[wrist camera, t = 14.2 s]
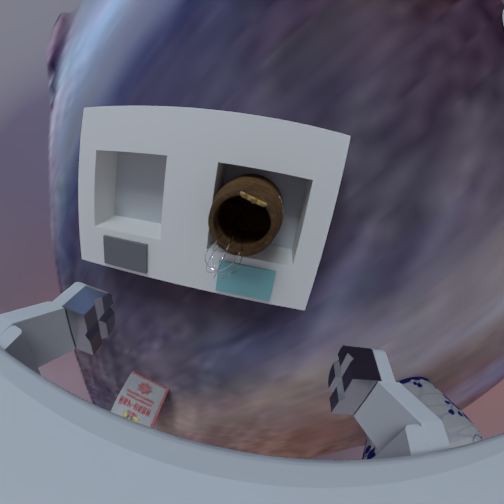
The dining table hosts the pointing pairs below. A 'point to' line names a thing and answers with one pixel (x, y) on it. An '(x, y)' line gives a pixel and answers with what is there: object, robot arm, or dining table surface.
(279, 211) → the utensil holder
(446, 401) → the vase
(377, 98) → the dining table surface
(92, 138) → the socket box
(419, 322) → the dining table surface
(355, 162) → the dining table surface
